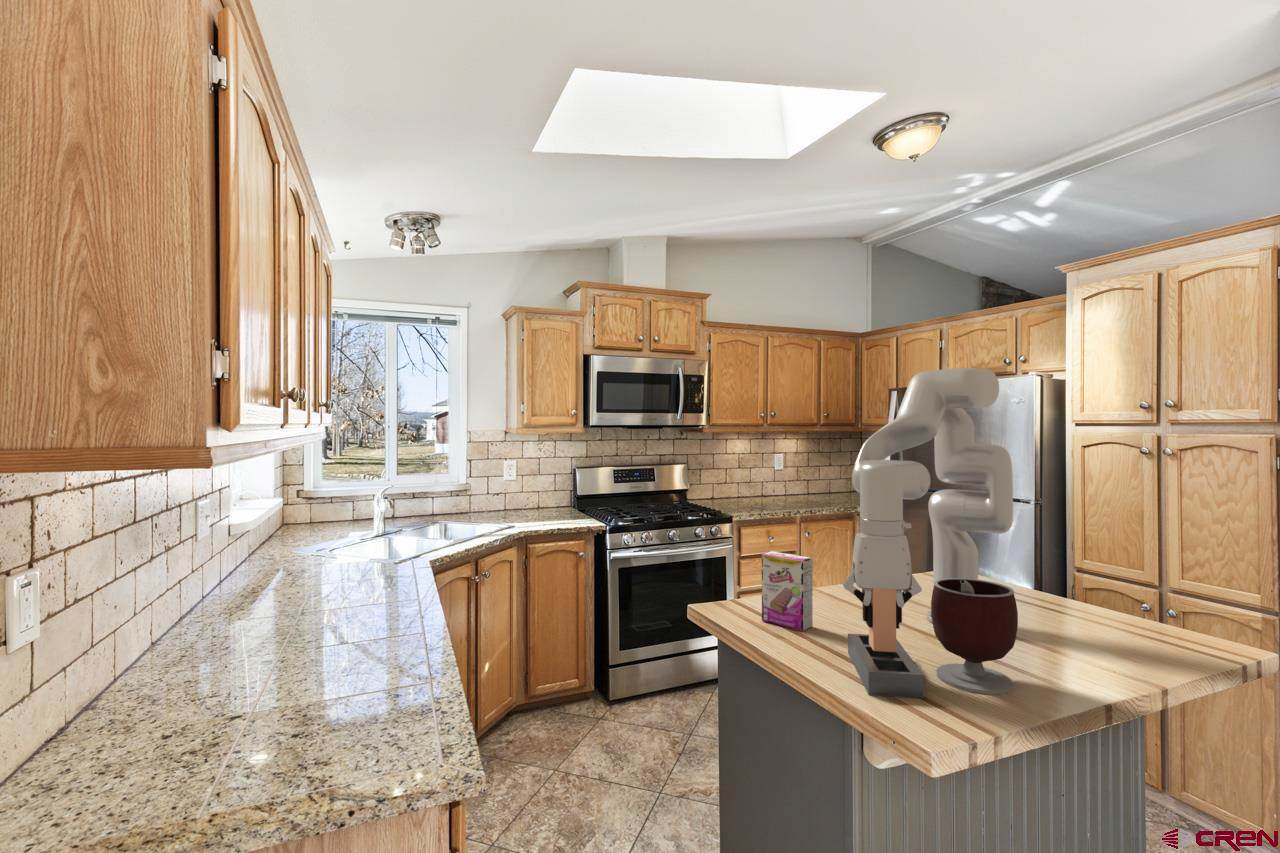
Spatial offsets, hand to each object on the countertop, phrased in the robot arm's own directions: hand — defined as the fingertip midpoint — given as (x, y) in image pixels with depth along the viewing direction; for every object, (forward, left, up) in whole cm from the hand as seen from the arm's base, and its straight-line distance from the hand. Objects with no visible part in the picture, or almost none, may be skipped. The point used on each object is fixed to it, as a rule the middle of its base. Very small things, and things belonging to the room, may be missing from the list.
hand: (882, 624), depth 112 cm
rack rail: (0, 0, -9) cm, 9 cm away
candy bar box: (+15, -27, -9) cm, 33 cm away
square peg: (0, 0, -4) cm, 4 cm away
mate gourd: (-15, +1, -9) cm, 18 cm away
